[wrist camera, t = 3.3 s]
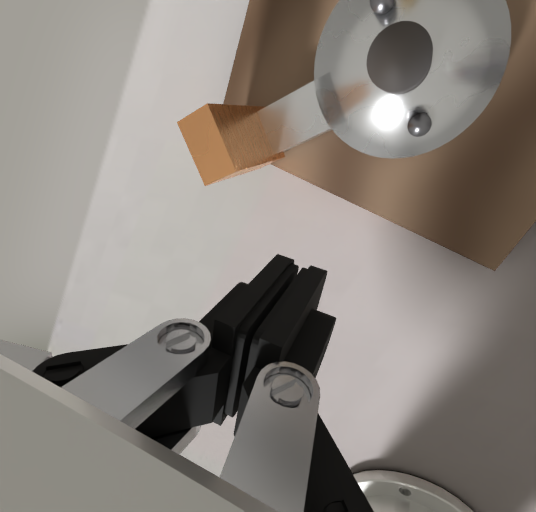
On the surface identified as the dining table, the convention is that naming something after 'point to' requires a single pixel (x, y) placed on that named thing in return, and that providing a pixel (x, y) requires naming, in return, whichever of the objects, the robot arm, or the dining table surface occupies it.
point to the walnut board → (416, 167)
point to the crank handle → (365, 90)
